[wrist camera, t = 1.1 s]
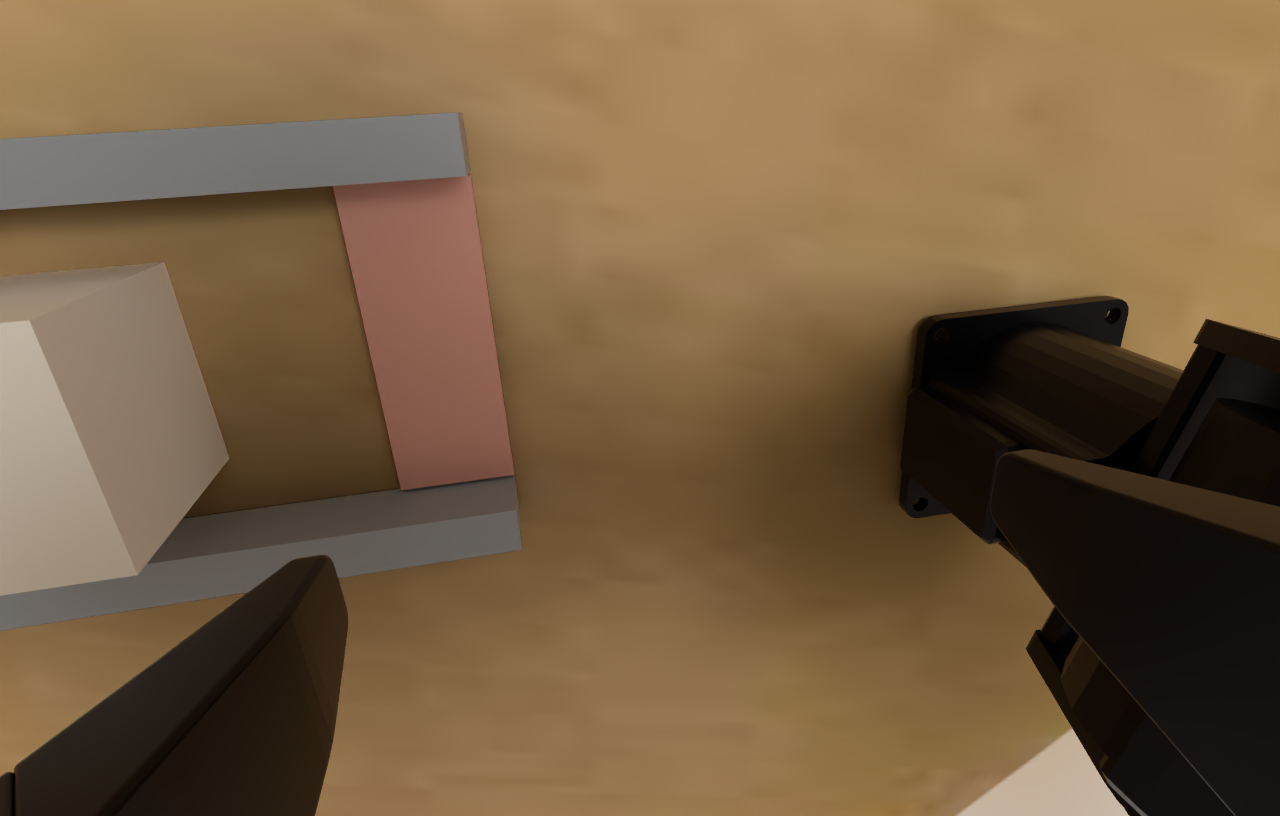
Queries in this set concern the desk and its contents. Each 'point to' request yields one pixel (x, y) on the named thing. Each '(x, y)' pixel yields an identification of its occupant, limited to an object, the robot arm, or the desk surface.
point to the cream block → (96, 424)
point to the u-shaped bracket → (395, 329)
